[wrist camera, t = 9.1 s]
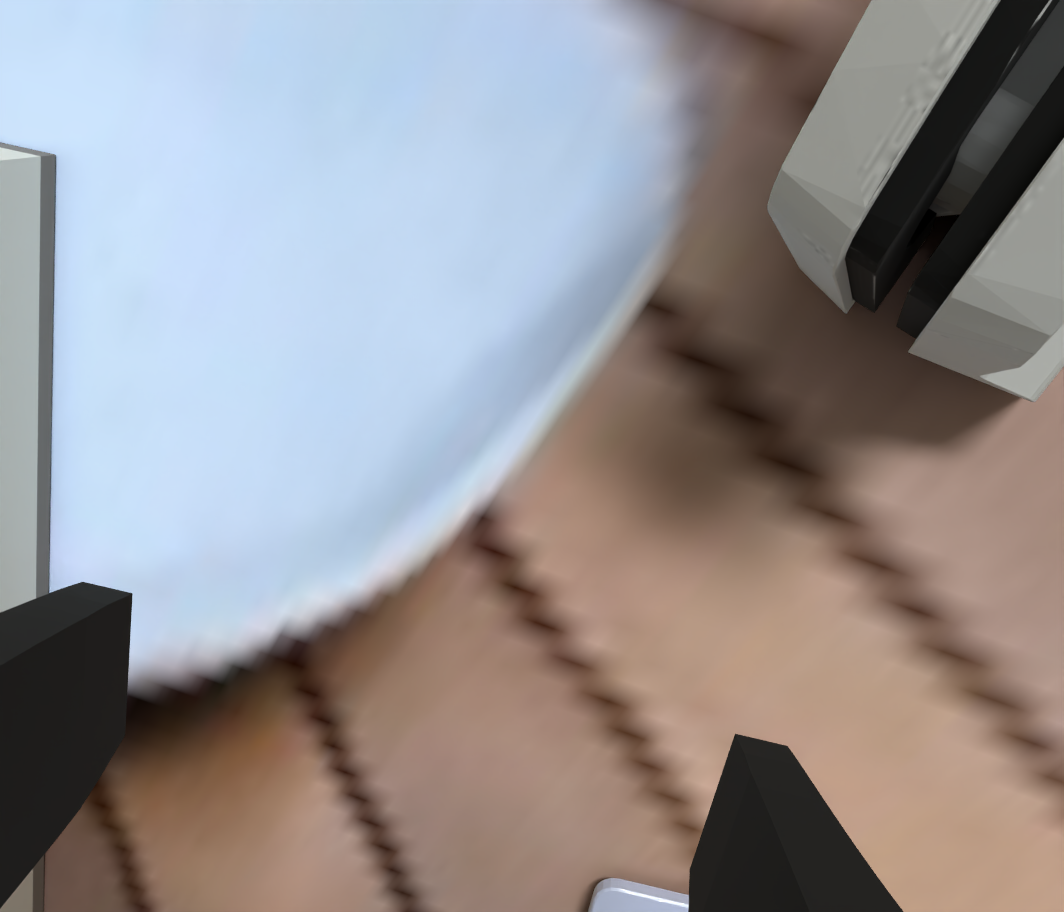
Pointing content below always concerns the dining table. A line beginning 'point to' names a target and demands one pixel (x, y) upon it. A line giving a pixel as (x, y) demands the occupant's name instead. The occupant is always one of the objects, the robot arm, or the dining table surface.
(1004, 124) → the grey and black device
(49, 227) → the post foot
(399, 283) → the dining table surface
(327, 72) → the dining table surface
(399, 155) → the dining table surface
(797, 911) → the robot arm
